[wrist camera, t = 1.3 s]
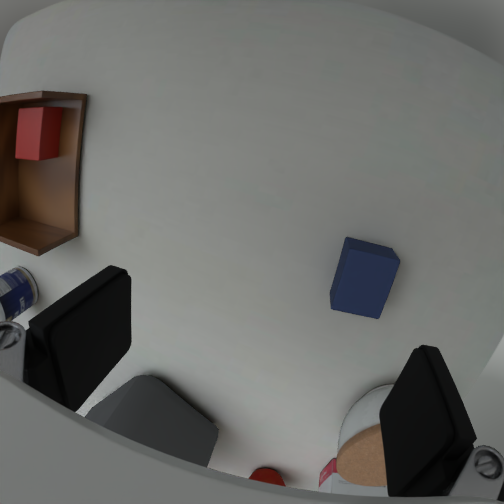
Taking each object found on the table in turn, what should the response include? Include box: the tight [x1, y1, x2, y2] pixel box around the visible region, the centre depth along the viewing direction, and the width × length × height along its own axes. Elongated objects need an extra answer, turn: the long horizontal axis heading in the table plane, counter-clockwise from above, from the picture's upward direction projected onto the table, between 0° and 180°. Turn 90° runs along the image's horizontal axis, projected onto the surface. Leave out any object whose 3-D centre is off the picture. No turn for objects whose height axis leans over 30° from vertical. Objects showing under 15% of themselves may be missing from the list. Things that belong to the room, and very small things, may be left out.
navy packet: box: [330, 237, 400, 319], centre depth 24 cm, size 5×4×3 cm
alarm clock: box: [85, 375, 219, 468], centre depth 29 cm, size 16×11×16 cm
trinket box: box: [336, 384, 394, 486], centre depth 25 cm, size 11×11×9 cm
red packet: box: [15, 107, 63, 161], centre depth 24 cm, size 5×4×3 cm
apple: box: [249, 469, 286, 487], centre depth 33 cm, size 6×6×8 cm
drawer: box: [0, 91, 87, 256], centre depth 24 cm, size 14×14×7 cm
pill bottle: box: [0, 267, 38, 322], centre depth 29 cm, size 5×5×10 cm
